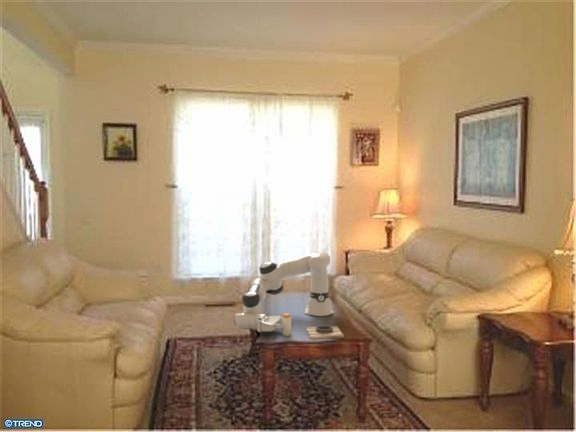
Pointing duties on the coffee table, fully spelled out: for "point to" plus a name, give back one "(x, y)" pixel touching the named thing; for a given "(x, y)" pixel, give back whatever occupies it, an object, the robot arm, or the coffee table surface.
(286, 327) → the bottle
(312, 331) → the board
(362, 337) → the coffee table surface
